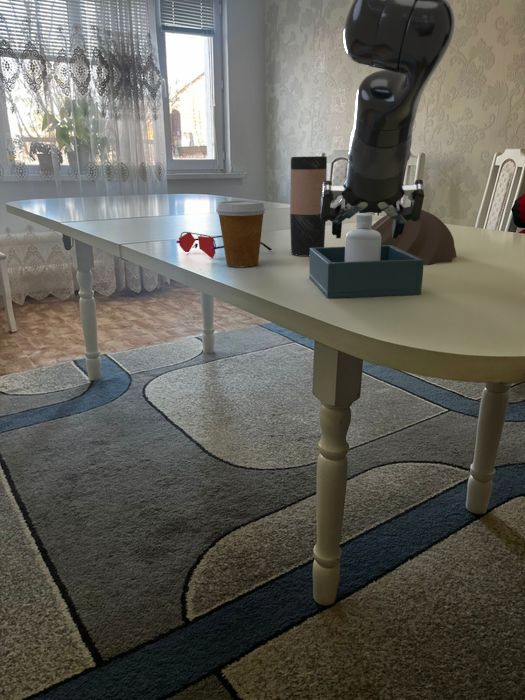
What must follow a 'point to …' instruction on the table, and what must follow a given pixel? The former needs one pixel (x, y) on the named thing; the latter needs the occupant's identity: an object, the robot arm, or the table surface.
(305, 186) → the travel mug
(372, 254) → the eye dropper bottle
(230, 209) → the disposable coffee cup
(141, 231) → the table surface
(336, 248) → the bin
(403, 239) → the decorative dome
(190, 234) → the glasses
